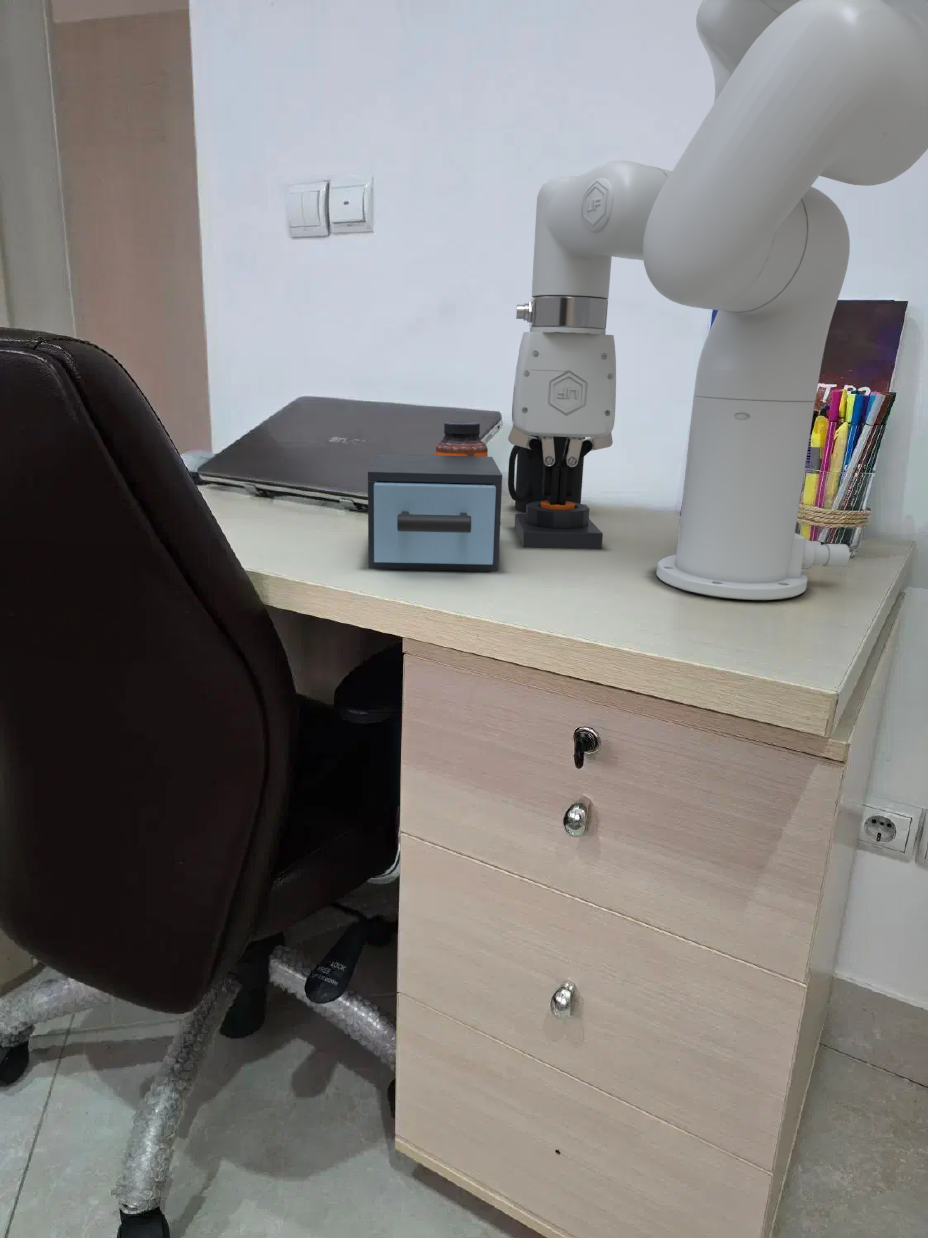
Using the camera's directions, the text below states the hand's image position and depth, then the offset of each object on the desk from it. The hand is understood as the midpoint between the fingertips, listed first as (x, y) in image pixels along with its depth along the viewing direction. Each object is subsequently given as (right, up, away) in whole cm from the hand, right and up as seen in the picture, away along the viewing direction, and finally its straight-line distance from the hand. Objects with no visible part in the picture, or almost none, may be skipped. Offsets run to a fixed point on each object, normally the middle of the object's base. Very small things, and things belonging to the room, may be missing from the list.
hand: (556, 502), depth 87 cm
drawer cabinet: (-13, -6, -7) cm, 16 cm away
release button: (0, -2, 0) cm, 2 cm away
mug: (0, +1, +16) cm, 16 cm away
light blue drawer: (-13, -6, -11) cm, 18 cm away
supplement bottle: (-10, -1, +8) cm, 13 cm away
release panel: (0, -4, +1) cm, 4 cm away
